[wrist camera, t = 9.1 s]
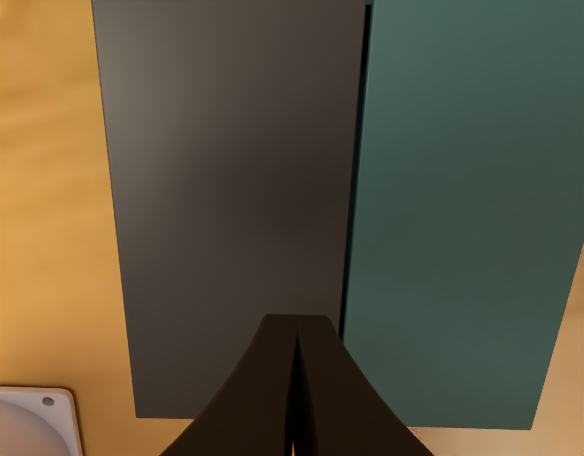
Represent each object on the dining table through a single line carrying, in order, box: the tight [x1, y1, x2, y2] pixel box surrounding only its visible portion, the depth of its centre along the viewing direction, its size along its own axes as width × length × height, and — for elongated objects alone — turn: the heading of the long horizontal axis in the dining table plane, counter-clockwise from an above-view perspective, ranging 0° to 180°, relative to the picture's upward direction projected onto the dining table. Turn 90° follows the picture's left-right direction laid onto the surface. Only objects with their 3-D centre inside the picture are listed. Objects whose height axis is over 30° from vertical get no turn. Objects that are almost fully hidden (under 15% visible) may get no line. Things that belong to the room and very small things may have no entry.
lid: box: [91, 0, 366, 419], centre depth 14 cm, size 6×13×1 cm, turn 178°
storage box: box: [339, 0, 584, 430], centre depth 17 cm, size 13×13×6 cm
